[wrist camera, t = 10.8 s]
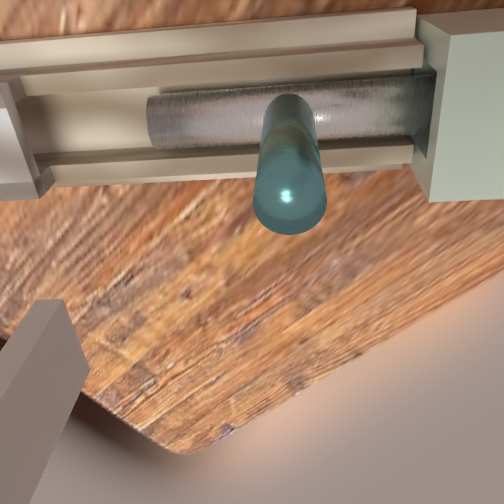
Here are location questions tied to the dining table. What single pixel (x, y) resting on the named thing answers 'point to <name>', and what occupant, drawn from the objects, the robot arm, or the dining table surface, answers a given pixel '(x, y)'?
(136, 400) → the dining table surface
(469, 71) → the socket
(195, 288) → the dining table surface
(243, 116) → the sliding bolt
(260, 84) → the rail
